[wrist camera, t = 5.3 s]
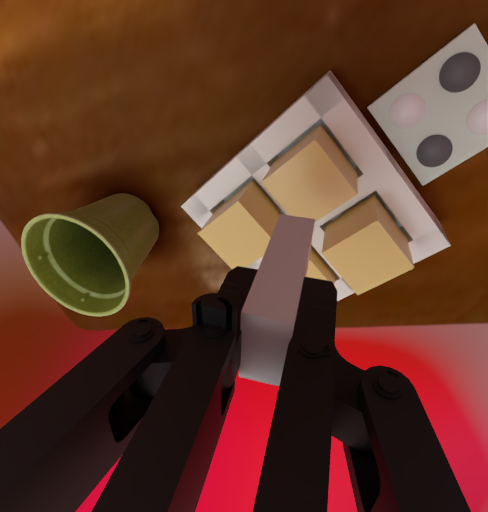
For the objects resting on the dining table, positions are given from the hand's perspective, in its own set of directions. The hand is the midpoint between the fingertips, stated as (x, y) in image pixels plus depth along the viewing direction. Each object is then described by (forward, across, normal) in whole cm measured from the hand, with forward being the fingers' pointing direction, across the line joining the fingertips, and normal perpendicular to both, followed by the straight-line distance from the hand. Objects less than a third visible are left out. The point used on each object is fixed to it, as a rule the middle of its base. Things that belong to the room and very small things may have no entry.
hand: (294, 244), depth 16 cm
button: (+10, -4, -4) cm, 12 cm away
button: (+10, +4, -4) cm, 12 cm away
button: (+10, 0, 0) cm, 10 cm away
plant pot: (+14, -17, -8) cm, 24 cm away
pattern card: (+14, +8, +4) cm, 16 cm away
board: (+14, 0, -4) cm, 14 cm away
